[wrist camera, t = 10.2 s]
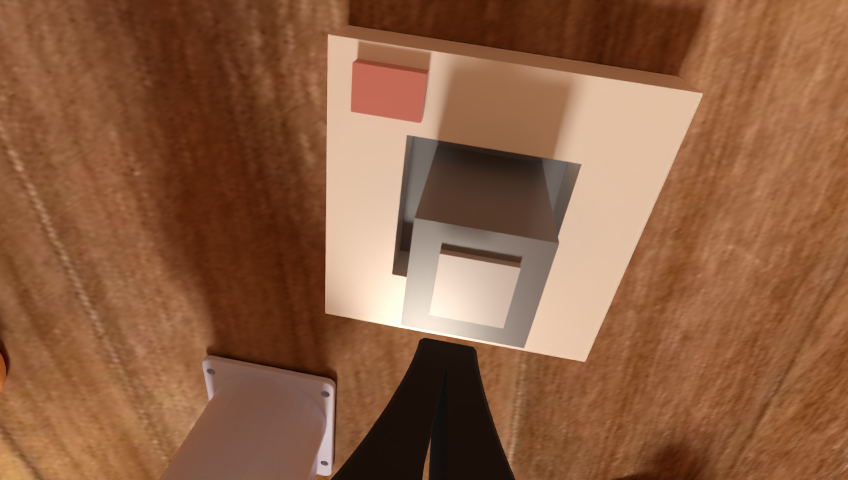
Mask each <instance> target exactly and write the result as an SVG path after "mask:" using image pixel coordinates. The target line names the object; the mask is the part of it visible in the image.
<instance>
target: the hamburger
mask: <svg viewBox="0 0 848 480" xmlns="http://www.w3.org/2000/svg"><path fill="white" fill-rule="evenodd" d="M5 379H6V366H5V362H4V359H3V357H2V355H1V353H0V392H1V390H2V388H3V385H4V382H5Z"/></svg>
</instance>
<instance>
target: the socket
mask: <svg viewBox="0 0 848 480" xmlns="http://www.w3.org/2000/svg"><path fill="white" fill-rule="evenodd" d="M702 95H703V93H702V92H700V91H699V90H698V89H696V88H695V87H693V86H692V85H690V84H689V83H687V82H686V81H684V80H683V79H681V78H680V77H678V76H672V75H666V74H660V73H653V72H647V71H640V70H634V69H627V68H621V67H615V66H608V65H602V64H595V63H589V62H582V61H576V60H570V59H563V58H557V57H550V56H544V55H537V54H531V53H525V52H518V51H512V50H505V49H499V48H492V47H486V46H480V45H473V44H467V43H460V42H454V41H447V40H441V39H435V38H428V37H422V36H415V35H409V34H402V33H396V32H390V31H383V30H377V29H370V28H364V27H357V26H351V25H347V26H345V27H343V28H341V29H339V30H337V31H335V32H332V33H330V34H328V85H327V181H326V276H325V313H326V314H332V315H337V316H342V317H348V318H353V319H358V320H364V321H369V322H374V323H380V324H385V325H390V326H396V327H401V328H406V329H412V330H417V331H422V332H428V333H433V334H438V335H444V336H449V337H455V338H460V339H465V340H471V341H476V342H481V343H487V344H492V345H497V346H503V347H508V348H513V349H519V350H524V351H529V352H535V353H540V354H545V355H551V356H556V357H561V358H567V359H572V360H577V361H583V362H585V361H586V358H587V356H588V354H589V352H590V349H591V347H592V345H593V342H594V340H595V338H596V336H597V333H598V331H599V329H600V327H601V324H602V322H603V320H604V318H605V315H606V313H607V311H608V308H609V306H610V304H611V302H612V299H613V297H614V295H615V293H616V290H617V288H618V286H619V284H620V281H621V279H622V277H623V274H624V272H625V270H626V268H627V265H628V263H629V261H630V259H631V256H632V254H633V252H634V249H635V247H636V245H637V243H638V240H639V238H640V236H641V234H642V231H643V229H644V227H645V225H646V222H647V220H648V218H649V215H650V213H651V211H652V209H653V206H654V204H655V202H656V200H657V197H658V195H659V193H660V191H661V188H662V186H663V184H664V181H665V179H666V177H667V175H668V172H669V170H670V168H671V166H672V163H673V161H674V159H675V157H676V154H677V152H678V150H679V147H680V145H681V143H682V141H683V138H684V136H685V134H686V132H687V129H688V127H689V125H690V123H691V120H692V118H693V116H694V113H695V111H696V109H697V107H698V104H699V102H700V100H701V98H702ZM437 146H441V147H447V148H453V149H459V150H465V151H471V152H477V153H483V154H489V155H495V156H501V157H507V158H513V159H519V160H525V161H531V162H537V163H542V165H543V169H544V174H545V179H546V184H547V188H548V193H549V198H550V202H551V207H552V212H553V216H554V221H555V226H556V230H557V235H558V240H559V246H558V249H557V252H556V255H555V258H554V261H553V264H552V267H551V270H550V273H549V276H548V279H547V282H546V285H545V288H544V291H543V294H542V297H541V300H540V303H539V306H538V309H537V312H536V315H535V318H534V321H533V324H532V327H531V330H530V332H529V335H528V338H527V341H526V344H525V347H524V348H520V347H514V346H509V345H504V344H498V343H493V342H488V341H482V340H477V339H472V338H466V337H461V336H456V335H450V334H445V333H440V332H434V331H429V330H424V329H418V328H413V327H408V326H402V325H401V318H402V310H403V302H404V295H405V287H406V279H407V271H408V264H409V256H410V248H411V241H412V233H413V225H414V218H415V215H416V211H417V208H418V205H419V202H420V199H421V196H422V192H423V189H424V186H425V183H426V180H427V177H428V173H429V170H430V167H431V164H432V161H433V158H434V155H435V151H436V148H437Z"/></svg>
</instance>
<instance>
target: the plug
mask: <svg viewBox="0 0 848 480" xmlns="http://www.w3.org/2000/svg"><path fill="white" fill-rule="evenodd" d="M558 246H559V240H558V235H557V230H556V226H555V221H554V216H553V212H552V207H551V202H550V198H549V193H548V188H547V184H546V179H545V174H544V169H543V165H542V163H537V162H531V161H525V160H519V159H513V158H507V157H501V156H495V155H489V154H483V153H477V152H471V151H465V150H459V149H453V148H447V147H441V146H437V148H436V151H435V155H434V158H433V161H432V164H431V167H430V170H429V173H428V177H427V180H426V183H425V186H424V189H423V192H422V196H421V199H420V202H419V205H418V208H417V211H416V215H415V218H414V225H413V233H412V241H411V248H410V256H409V264H408V271H407V279H406V287H405V295H404V302H403V310H402V318H401V325H402V326H408V327H413V328H418V329H424V330H429V331H434V332H440V333H445V334H450V335H456V336H461V337H466V338H472V339H477V340H482V341H488V342H493V343H498V344H504V345H509V346H514V347H520V348H524V347H525V344H526V341H527V338H528V335H529V332H530V330H531V327H532V324H533V321H534V318H535V315H536V312H537V309H538V306H539V303H540V300H541V297H542V294H543V291H544V288H545V285H546V282H547V279H548V276H549V273H550V270H551V267H552V264H553V261H554V258H555V255H556V252H557V249H558Z"/></svg>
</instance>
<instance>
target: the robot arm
mask: <svg viewBox="0 0 848 480" xmlns="http://www.w3.org/2000/svg"><path fill="white" fill-rule="evenodd" d="M202 365H203V371H204V376H205V381H206V386H207V391H208V397H209V403H208V405H207V406H206V408H205V409H204V411H203V413H202V414H201V416H200V417H199V419H198V420H197V422H196V423H195V425H194V427H193V428H192V430H191V431H190V433H189V434H188V436H187V437H186V439H185V440H184V442H183V444H182V445H181V447H180V448H179V450H178V451H177V453H176V454H175V456H174V458H173V459H172V461H171V462H170V464H169V465H168V467H167V468H166V470H165V471H164V473H163V475H162V476H161V478H160V479H159V480H314V479H315V476H316V474H320V475H324V476H328V475H330V474H331V473H332V470H333V456H334V422H335V389H336V385H335V382H334V381H333V380H331V379H329V378H325V377H320V376H315V375H310V374H305V373H300V372H294V371H289V370H284V369H279V368H274V367H269V366H263V365H258V364H253V363H248V362H243V361H238V360H233V359H227V358H222V357H217V356H211V355H209V356H206V357H205V359H204V360H203V361H202ZM430 438H431V445H430V463H429V480H515V478H514V475H513V473H512V470H511V468H510V466H509V463H508V460H507V458H506V455H505V453H504V450H503V448H502V445H501V442H500V439H499V437H498V434H497V431H496V428H495V425H494V422H493V419H492V416H491V412H490V409H489V406H488V403H487V399H486V396H485V392H484V388H483V384H482V380H481V376H480V371H479V366H478V360H477V351H476V350H475V349H474V347H471V346H466V345H460V344H455V343H450V342H445V341H439V340H434V339H429V338H423V339H421V340H420V341H419V344H418V348H417V350H416V353H415V355H414V358H413V360H412V362H411V364H410V366H409V368H408V370H407V372H406V374H405V376H404V378H403V380H402V382H401V383H400V385H399V387H398V388H397V390H396V392H395V393H394V395H393V397H392V398H391V400H390V402H389V403H388V405H387V406H386V408H385V409H384V411H383V412H382V414H381V415H380V417H379V418H378V420H377V421H376V422H375V424H374V425H373V427H372V428H371V430H370V431H369V433H368V434H367V435H366V437H365V438H364V439H363V441H362V442H361V443H360V445H359V446H358V447H357V449H356V450H355V451H354V452H353V454H352V455H351V456H350V457H349V459H348V460H347V461H346V462H345V464H344V465H343V466H342V467H341V468H340V470H339V471H338V472H337V473H336V474H335V475H334V476H333V478H332V479H331V480H422V477H423V469H424V463H425V459H426V455H427V451H428V447H429V443H430Z"/></svg>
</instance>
